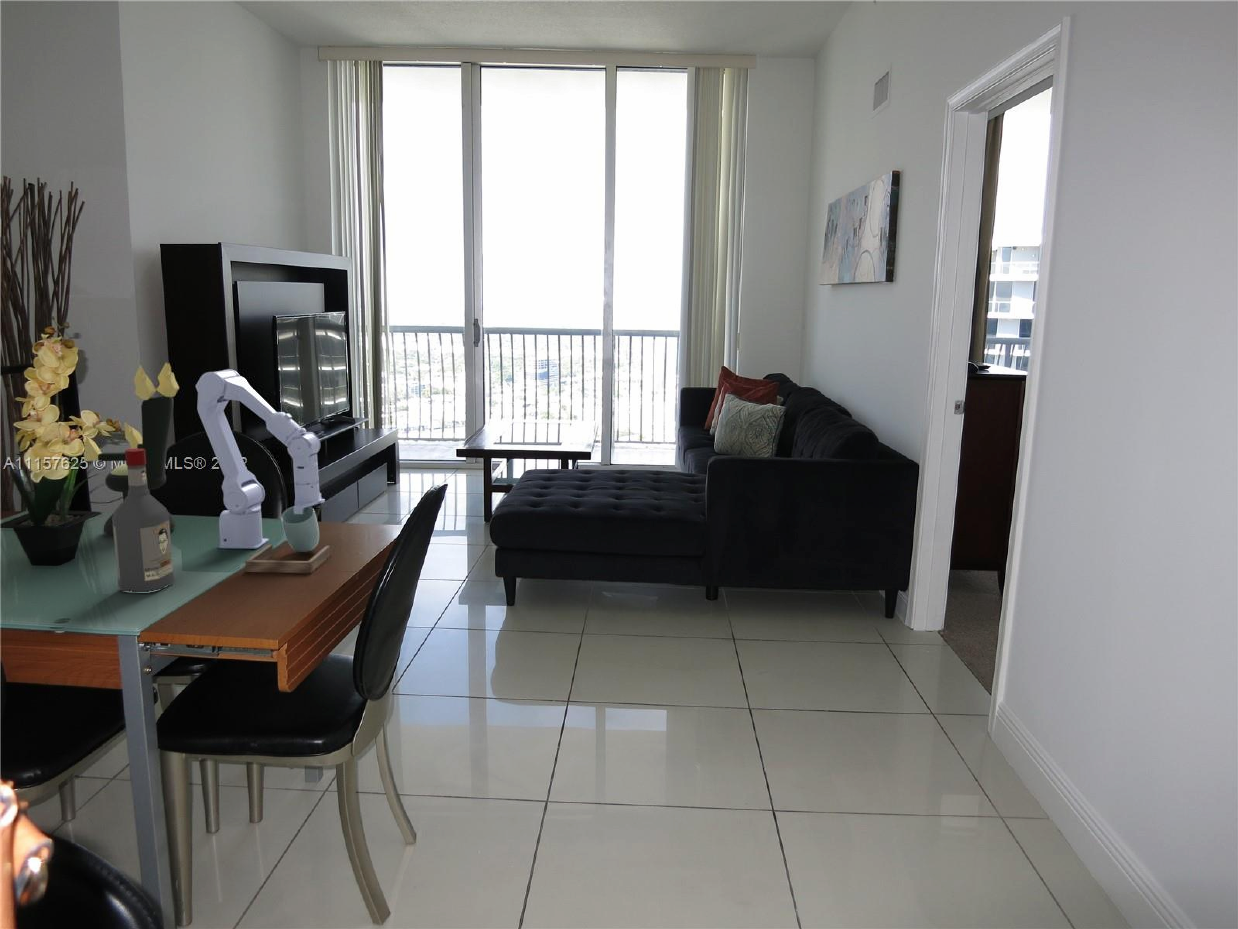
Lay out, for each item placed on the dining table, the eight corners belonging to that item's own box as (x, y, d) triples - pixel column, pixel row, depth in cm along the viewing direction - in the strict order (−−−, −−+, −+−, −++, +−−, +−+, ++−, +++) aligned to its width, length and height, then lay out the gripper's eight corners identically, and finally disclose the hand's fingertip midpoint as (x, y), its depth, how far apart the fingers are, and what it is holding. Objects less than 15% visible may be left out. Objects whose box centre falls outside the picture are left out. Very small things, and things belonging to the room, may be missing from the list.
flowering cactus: (133, 521, 240) (118, 357, 232) (209, 525, 238) (197, 359, 229) (84, 539, 222) (67, 362, 213) (166, 544, 219) (152, 364, 211)
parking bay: (245, 571, 199) (245, 561, 199) (268, 554, 212) (268, 544, 212) (311, 573, 199) (311, 562, 199) (330, 555, 212) (330, 545, 212)
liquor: (112, 593, 184) (99, 453, 178) (139, 579, 192) (127, 445, 187) (154, 595, 183) (142, 454, 177) (179, 581, 192) (168, 447, 186)
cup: (327, 537, 219) (319, 506, 213) (314, 557, 212) (306, 525, 207) (297, 535, 219) (289, 503, 214) (284, 555, 213) (274, 522, 207)
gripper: (313, 488, 209) (316, 543, 211) (332, 476, 223) (334, 527, 226) (283, 488, 209) (287, 543, 211) (304, 476, 223) (307, 527, 226)
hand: (310, 535), depth 218 cm, fingers closed, pressing on cup
